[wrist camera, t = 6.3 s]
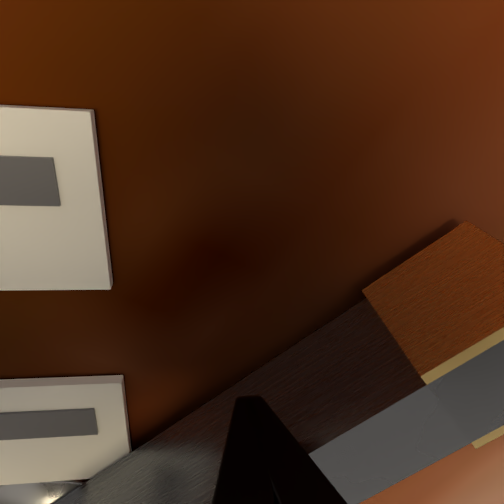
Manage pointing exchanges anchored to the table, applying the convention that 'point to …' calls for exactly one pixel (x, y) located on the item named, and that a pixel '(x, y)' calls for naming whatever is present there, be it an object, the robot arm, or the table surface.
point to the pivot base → (38, 492)
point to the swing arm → (357, 386)
